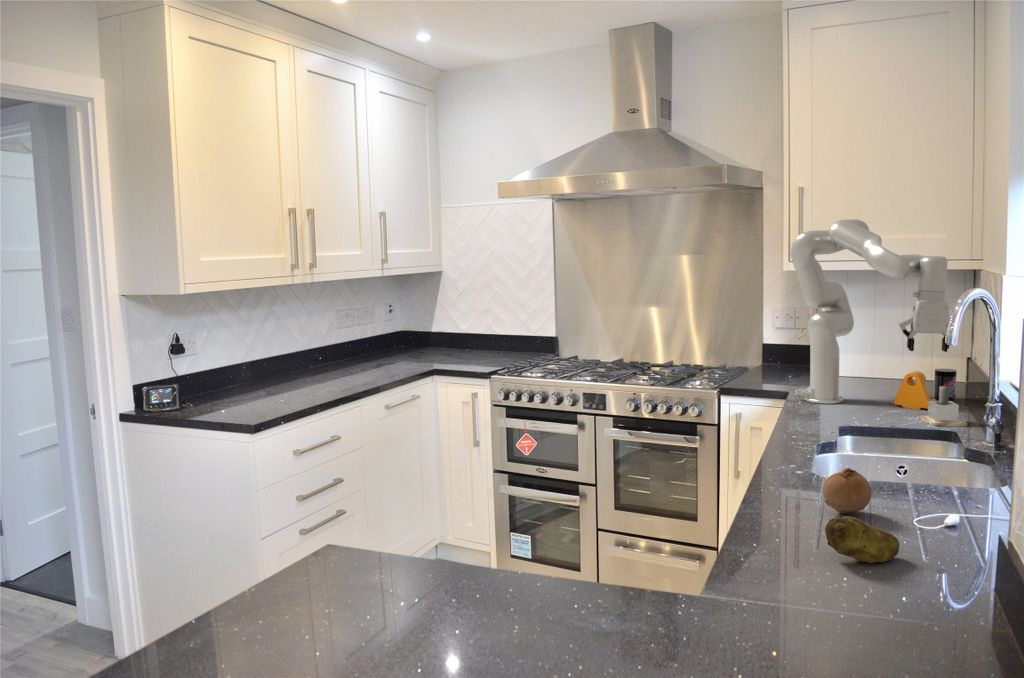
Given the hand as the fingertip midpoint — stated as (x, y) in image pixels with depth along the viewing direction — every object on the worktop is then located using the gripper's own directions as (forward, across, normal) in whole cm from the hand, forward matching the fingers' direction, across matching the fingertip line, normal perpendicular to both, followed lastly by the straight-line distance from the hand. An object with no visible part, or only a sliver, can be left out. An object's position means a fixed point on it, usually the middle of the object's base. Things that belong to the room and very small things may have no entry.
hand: (927, 350), depth 248 cm
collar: (+20, +3, -8) cm, 22 cm away
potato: (+19, -45, -119) cm, 129 cm away
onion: (+20, -42, -94) cm, 105 cm away
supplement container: (+22, +15, +28) cm, 38 cm away
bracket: (+22, +2, +15) cm, 27 cm away
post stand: (+21, +4, -8) cm, 23 cm away
